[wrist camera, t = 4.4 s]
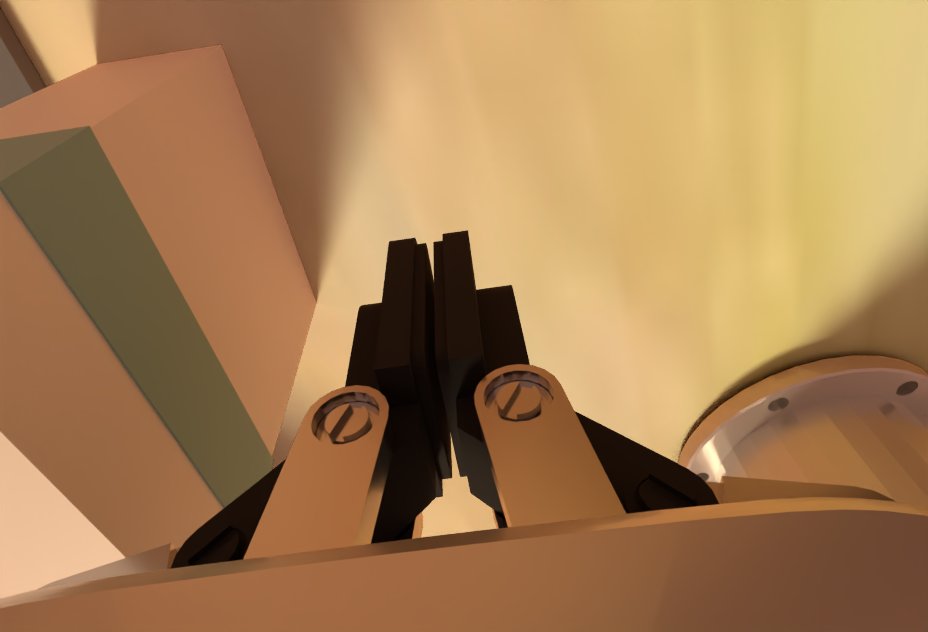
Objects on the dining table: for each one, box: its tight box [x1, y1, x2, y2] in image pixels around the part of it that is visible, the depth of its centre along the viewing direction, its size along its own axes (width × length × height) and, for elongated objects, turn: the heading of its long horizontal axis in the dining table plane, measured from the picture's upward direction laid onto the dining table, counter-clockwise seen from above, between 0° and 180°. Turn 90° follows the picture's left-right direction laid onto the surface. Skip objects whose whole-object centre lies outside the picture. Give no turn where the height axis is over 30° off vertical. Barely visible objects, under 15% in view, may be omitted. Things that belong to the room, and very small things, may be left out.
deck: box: [0, 45, 316, 599], centre depth 13 cm, size 4×9×12 cm, turn 7°
